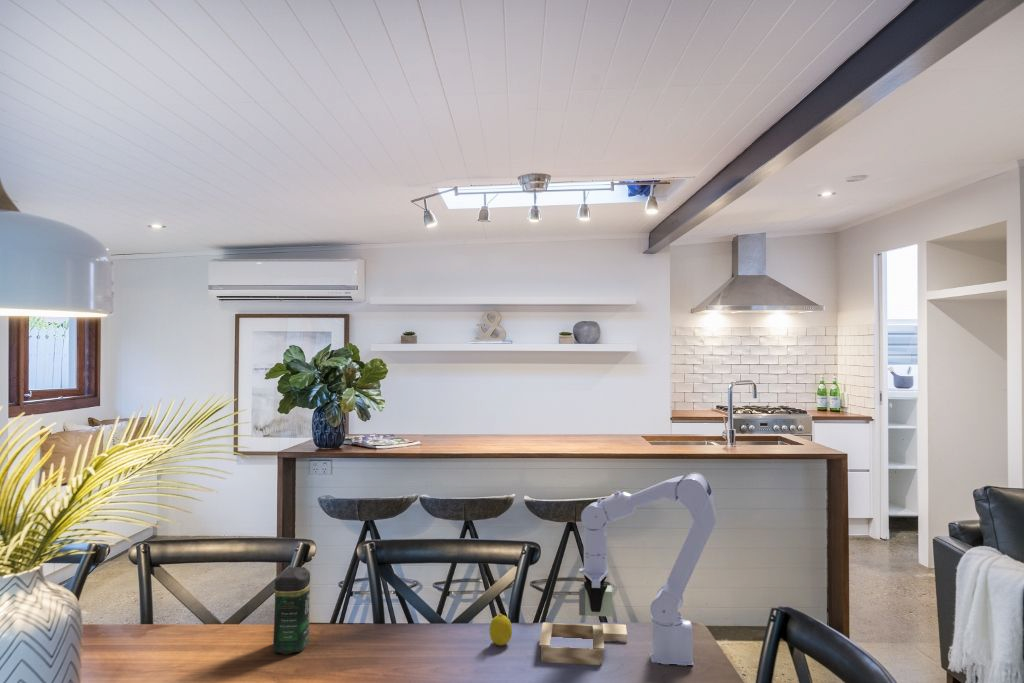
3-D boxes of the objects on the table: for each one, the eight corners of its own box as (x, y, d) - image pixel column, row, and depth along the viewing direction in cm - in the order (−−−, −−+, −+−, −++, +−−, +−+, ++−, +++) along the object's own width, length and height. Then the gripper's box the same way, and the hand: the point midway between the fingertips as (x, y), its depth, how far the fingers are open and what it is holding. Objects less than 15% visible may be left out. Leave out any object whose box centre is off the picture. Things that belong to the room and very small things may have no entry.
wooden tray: (602, 641, 165) (602, 624, 165) (604, 667, 151) (604, 649, 151) (543, 638, 166) (543, 621, 166) (538, 664, 152) (538, 645, 152)
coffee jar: (303, 655, 157) (304, 576, 157) (269, 655, 156) (270, 577, 157) (313, 637, 166) (313, 563, 167) (281, 638, 166) (281, 564, 166)
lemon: (502, 654, 158) (502, 620, 158) (484, 647, 161) (485, 614, 161) (516, 645, 162) (516, 613, 162) (498, 640, 165) (498, 608, 166)
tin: (611, 609, 165) (611, 585, 165) (612, 616, 160) (612, 591, 160) (579, 608, 165) (579, 584, 166) (579, 615, 161) (579, 590, 161)
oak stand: (625, 634, 169) (625, 624, 169) (627, 644, 163) (627, 634, 163) (602, 633, 170) (602, 623, 170) (602, 643, 164) (602, 633, 164)
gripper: (579, 543, 171) (579, 596, 170) (579, 560, 156) (579, 618, 156) (606, 544, 170) (606, 597, 170) (608, 561, 156) (609, 619, 155)
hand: (595, 607), depth 163 cm, fingers closed on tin, 4 cm apart
